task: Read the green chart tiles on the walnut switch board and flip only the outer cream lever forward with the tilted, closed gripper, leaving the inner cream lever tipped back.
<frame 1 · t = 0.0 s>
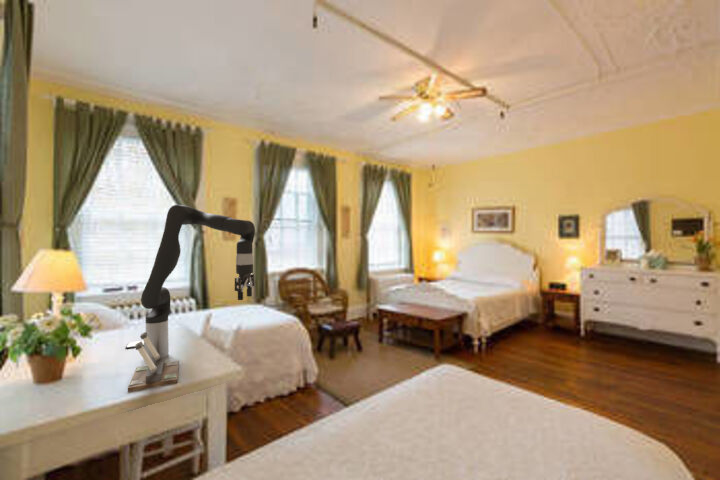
hand: (245, 298, 148), 29 cm above the table, tool pointing down, fingers open, 8 cm apart
lever inner: (150, 346, 137), point 11 cm above the table, hinge at -25.0°
lever outer: (146, 357, 124), point 11 cm above the table, hinge at -25.0°
switch board: (155, 376, 132), on the table
phone case: (144, 345, 171), on the table
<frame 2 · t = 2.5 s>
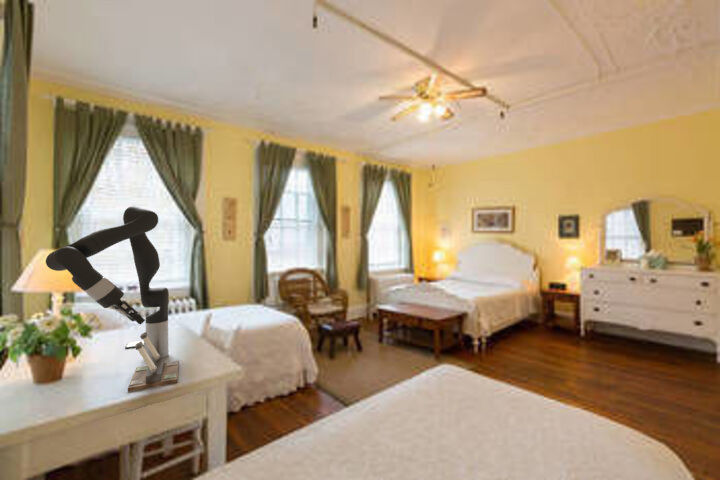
hand: (139, 320, 122), 26 cm above the table, tool tilted 40°, fingers open, 8 cm apart
nothing on the table moved.
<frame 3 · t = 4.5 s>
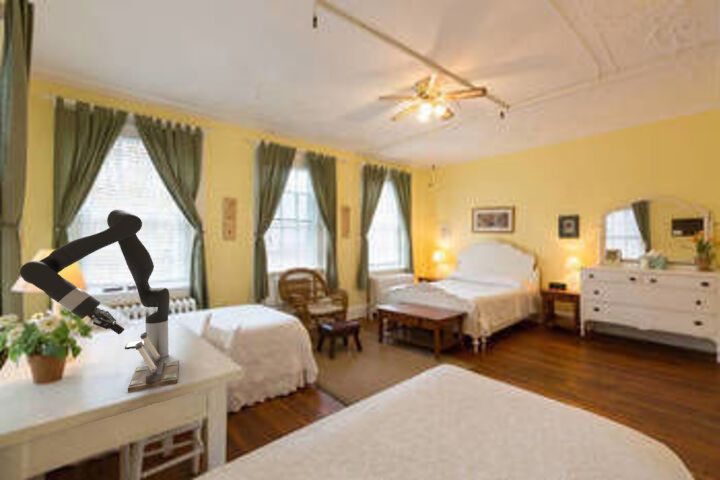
hand: (122, 331, 121), 22 cm above the table, tool tilted 45°, fingers closed
nothing on the table moved.
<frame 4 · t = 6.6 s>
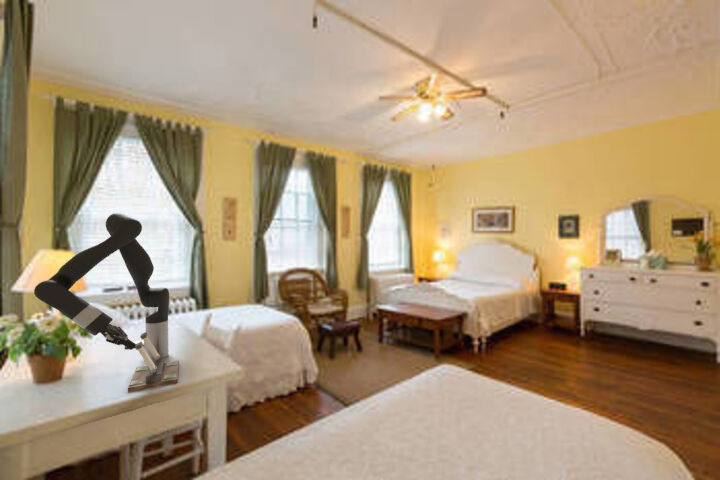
hand: (133, 347, 122), 15 cm above the table, tool tilted 45°, fingers closed
lever outer: (146, 357, 124), point 11 cm above the table, hinge at -24.9°, touching gripper
everything else where it was.
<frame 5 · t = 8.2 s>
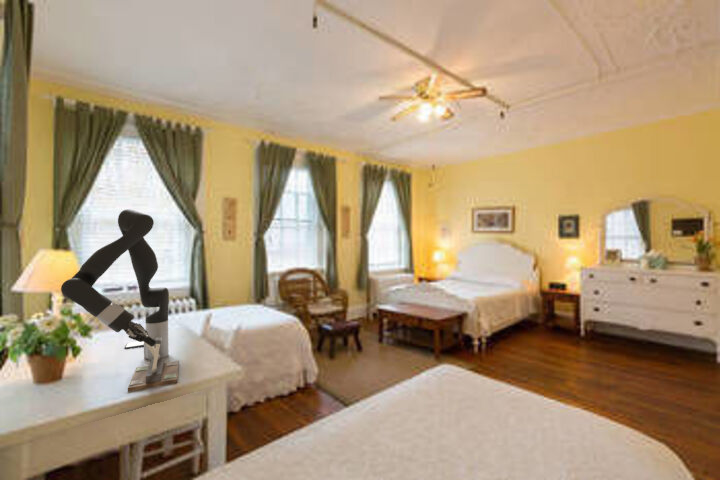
hand: (154, 344, 125), 16 cm above the table, tool tilted 45°, fingers closed
lever outer: (156, 355, 126), point 11 cm above the table, hinge at 8.7°, touching gripper
everything else where it was.
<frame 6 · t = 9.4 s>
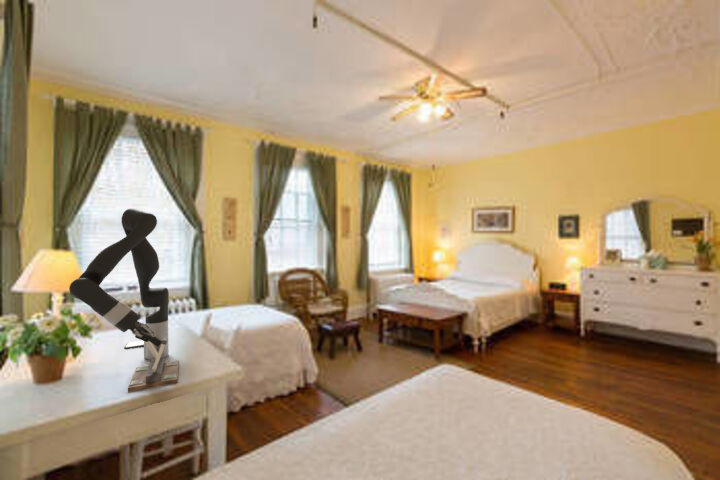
hand: (160, 344, 126), 15 cm above the table, tool tilted 45°, fingers closed
lever outer: (159, 355, 126), point 11 cm above the table, hinge at 19.0°, touching gripper
everything else where it was.
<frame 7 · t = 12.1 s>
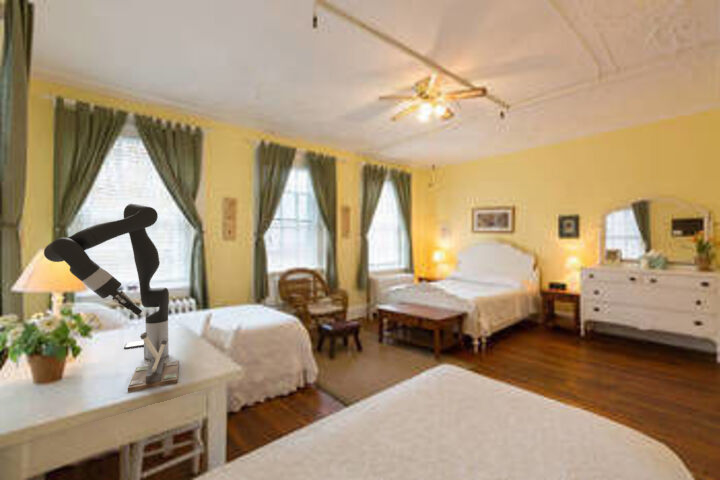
hand: (139, 313, 124), 28 cm above the table, tool tilted 40°, fingers closed
lever outer: (159, 355, 126), point 11 cm above the table, hinge at 19.1°
everything else where it was.
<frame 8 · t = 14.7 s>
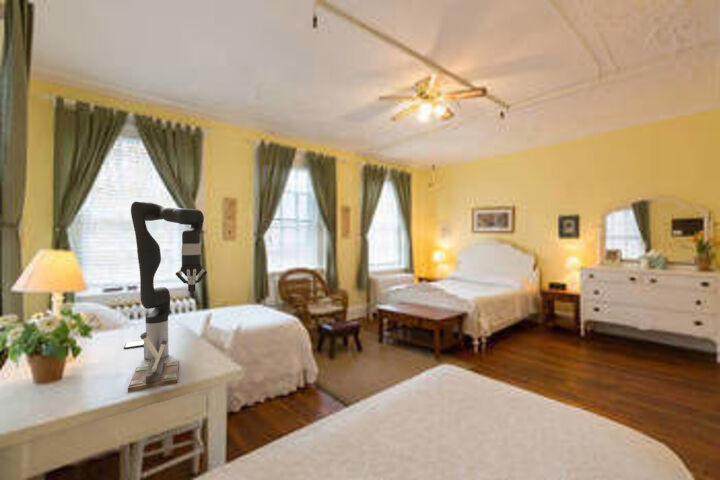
hand: (191, 292, 142), 33 cm above the table, tool pointing down, fingers closed
nothing on the table moved.
at the end: lever outer at +19° (first picture: -25°); lever inner at -25° (first picture: -25°) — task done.
